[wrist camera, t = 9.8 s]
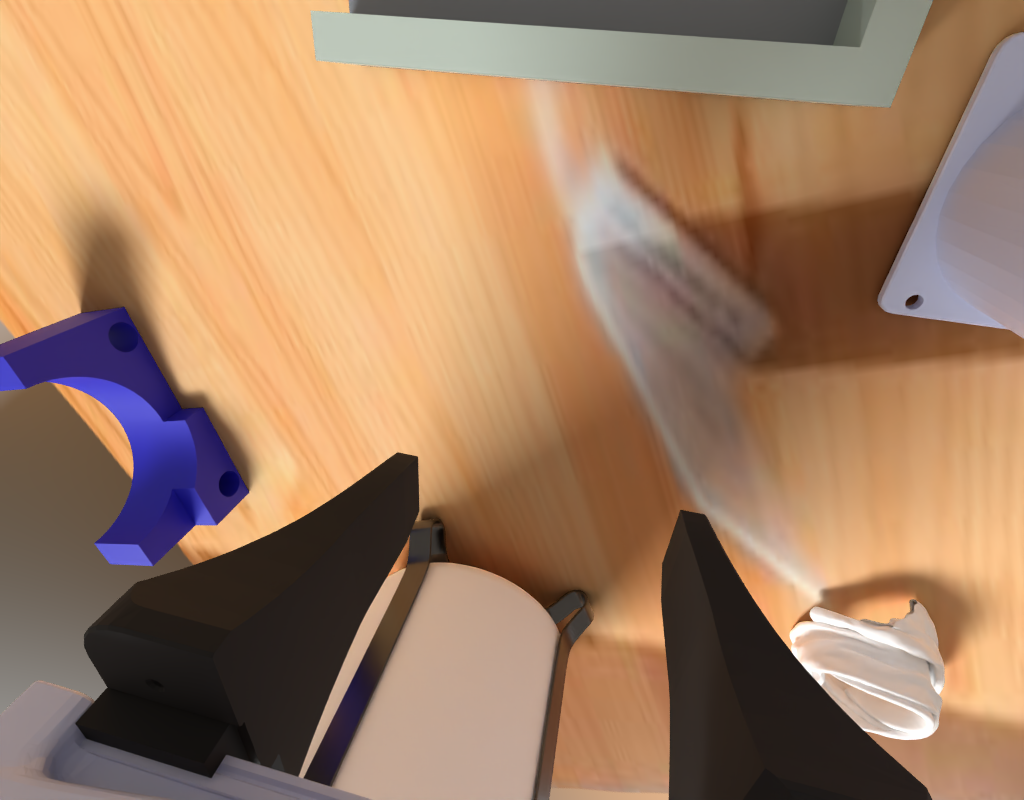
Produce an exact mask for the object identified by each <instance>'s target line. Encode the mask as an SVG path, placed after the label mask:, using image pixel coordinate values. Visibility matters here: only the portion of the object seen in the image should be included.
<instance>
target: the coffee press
mask: <svg viewBox="0 0 1024 800" xmlns="http://www.w3.org/2000/svg"><path fill="white" fill-rule="evenodd" d="M577 608H581V609H580V610H579V611H578V612H577V613H576V614H575V615H574V616H573V618H572V619H571V620H570V621H569V622H568V624H567V625H566V626H565V628H564V629H563V631H562V633H561V635H560V632H559V630H558V628H557V626H556V624H557V623H559V622H560V621H561V620H563V619H564V618H565V617H566V616H568V615H569V614H570V613H571V612H572V611H574V610H575V609H577ZM593 618H594V614H593V611H592V608H591V606H590V603H589V601H588V598H587V596H586V594H585V593H584V592H582V591H580V590H573V591H570V592H568V593H566V594H565V595H564V596H562V597H561V598H560V599H559V600H558V601H556V602H555V603H554V604H552V605H551V606H549V607H547V608H543V607H542V606H541V604H540V603H539V602H537V601H536V600H535V599H534V598H533V597H532V596H531V595H530V594H528V593H527V592H526V591H524V590H523V589H521V588H520V587H519V586H517V585H515V584H514V583H512V582H510V581H508V580H507V579H505V578H503V577H500V576H498V575H496V574H494V573H491V572H488V571H486V570H483V569H479V568H476V567H472V566H468V565H462V564H456V563H450V562H449V560H448V556H447V551H446V538H445V528H444V525H443V523H442V521H441V520H440V519H438V518H436V519H428V520H420V521H415V523H414V525H413V528H412V530H411V533H410V541H409V556H408V563H407V566H406V568H404V569H402V570H399V571H397V572H395V573H394V574H392V575H390V576H389V577H387V578H386V579H385V581H384V583H383V585H382V586H381V588H380V590H379V592H378V593H377V595H376V597H375V599H374V600H373V602H372V604H371V606H370V607H369V609H368V611H367V613H366V615H365V617H364V619H363V621H362V623H361V625H360V627H359V629H358V631H357V633H356V636H355V638H354V640H353V642H352V645H351V647H350V649H349V651H348V654H347V656H346V658H345V661H344V663H343V665H342V668H341V670H340V672H339V675H338V677H337V679H336V682H335V684H334V687H333V689H332V691H331V694H330V696H329V699H328V701H327V704H326V706H325V709H324V711H323V714H322V716H321V719H320V721H319V724H318V726H317V729H316V731H315V734H314V737H313V739H312V742H311V745H310V747H309V750H308V753H307V755H306V758H305V761H304V763H303V766H302V769H301V771H300V774H299V777H300V778H304V779H307V780H310V781H313V782H317V783H320V784H323V785H326V786H330V787H333V788H336V789H339V790H343V791H346V792H349V793H353V794H356V795H359V796H362V797H366V798H369V799H372V800H549V797H550V789H551V782H552V774H553V766H554V759H555V751H556V743H557V736H558V728H559V720H560V713H561V705H562V698H563V690H564V683H565V675H566V668H567V662H568V656H569V652H570V649H571V647H572V646H573V644H574V643H575V641H576V640H577V639H578V637H579V636H580V635H581V634H582V633H583V632H584V630H585V629H586V628H587V627H588V626H589V625H590V624H591V622H592V620H593Z"/></svg>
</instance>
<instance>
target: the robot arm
mask: <svg viewBox="0 0 1024 800" xmlns="http://www.w3.org/2000/svg"><path fill="white" fill-rule="evenodd" d="M913 295H918V300H917V301H916V302H915V303H914V304H912V305H909V306H905V302H906V300H907V299H908V298H909V297H911V296H913ZM877 301H878V304H879V306H880V307H881V308H882V309H883V310H884V311H886V312H888V313H892V314H899V315H906V316H914V317H921V318H928V319H936V320H943V321H950V322H958V323H965V324H972V325H980V326H987V327H994V328H1002V329H1009V330H1011V331H1013V332H1014V333H1016V334H1017V335H1019V336H1020V337H1022V338H1024V32H1020V33H1014V34H1012V35H1010V36H1008V37H1006V38H1004V39H1003V40H1002V41H1001V42H1000V43H999V44H998V45H997V46H996V47H995V49H994V50H993V52H992V53H991V56H990V58H989V60H988V62H987V64H986V66H985V68H984V71H983V73H982V75H981V77H980V79H979V81H978V83H977V86H976V88H975V90H974V92H973V94H972V96H971V98H970V101H969V103H968V105H967V107H966V109H965V111H964V113H963V115H962V118H961V120H960V122H959V124H958V126H957V128H956V130H955V133H954V135H953V137H952V139H951V141H950V143H949V145H948V148H947V150H946V152H945V154H944V156H943V158H942V160H941V163H940V165H939V167H938V169H937V171H936V173H935V175H934V178H933V180H932V182H931V184H930V186H929V188H928V190H927V192H926V195H925V197H924V199H923V201H922V203H921V205H920V207H919V210H918V212H917V214H916V216H915V218H914V220H913V222H912V225H911V227H910V229H909V231H908V233H907V235H906V237H905V240H904V242H903V244H902V246H901V248H900V250H899V252H898V255H897V257H896V259H895V261H894V263H893V265H892V267H891V269H890V272H889V274H888V276H887V278H886V280H885V282H884V284H883V287H882V289H881V291H880V293H879V295H878V300H877ZM418 513H419V478H418V457H417V456H412V455H408V454H403V453H396V454H395V455H393V456H392V457H390V458H389V459H388V460H386V461H385V462H383V463H382V464H381V465H379V466H378V467H377V468H375V469H374V470H373V471H371V472H370V473H368V474H367V475H366V476H364V477H363V478H362V479H360V480H359V481H357V482H356V483H355V484H353V485H352V486H350V487H349V488H347V489H346V490H345V491H343V492H342V493H340V494H339V495H337V496H336V497H334V498H333V499H331V500H330V501H328V502H326V503H325V504H323V505H322V506H320V507H318V508H317V509H315V510H314V511H312V512H311V513H309V514H307V515H305V516H304V517H302V518H300V519H298V520H297V521H295V522H293V523H291V524H289V525H287V526H285V527H283V528H281V529H279V530H278V531H276V532H273V533H271V534H269V535H267V536H265V537H263V538H260V539H258V540H256V541H254V542H251V543H249V544H247V545H245V546H243V547H240V548H238V549H236V550H233V551H231V552H228V553H226V554H223V555H220V556H218V557H215V558H213V559H210V560H207V561H204V562H201V563H199V564H196V565H193V566H190V567H187V568H184V569H181V570H178V571H174V572H171V573H167V574H164V575H161V576H157V577H154V578H151V579H148V580H144V581H140V582H137V583H136V584H134V585H133V586H132V587H131V588H130V589H129V590H128V591H127V592H126V593H125V594H124V595H123V596H122V597H121V598H119V599H118V600H117V601H116V602H115V603H114V604H113V605H112V606H111V607H110V608H109V609H108V610H107V611H106V612H105V613H104V614H103V615H102V616H101V617H100V618H99V619H98V620H97V621H96V622H95V623H93V624H92V626H90V627H89V628H88V630H87V631H86V633H85V634H84V647H85V649H86V652H87V654H88V656H89V658H90V659H91V661H92V663H93V664H94V666H95V667H96V669H97V671H98V672H99V674H100V676H101V677H102V679H103V681H104V682H105V684H106V686H107V687H108V688H107V689H106V690H105V691H104V692H103V693H102V694H101V695H100V696H99V698H98V699H97V700H96V701H94V700H93V699H92V698H90V697H88V696H87V695H85V694H83V693H81V692H78V691H75V690H72V689H68V688H65V687H62V686H58V685H55V684H52V683H48V682H45V681H41V680H40V681H35V682H34V683H33V684H32V685H31V686H30V687H29V688H28V689H27V690H25V692H24V693H22V694H21V695H20V696H19V697H18V698H17V699H16V700H15V701H14V702H13V703H12V704H11V705H10V706H9V707H8V708H7V709H6V710H5V711H4V712H3V713H2V714H1V715H0V800H372V799H369V798H366V797H362V796H359V795H356V794H353V793H349V792H346V791H343V790H339V789H336V788H333V787H330V786H326V785H323V784H320V783H317V782H313V781H310V780H307V779H304V778H300V777H299V774H300V771H301V769H302V766H303V763H304V761H305V758H306V755H307V753H308V750H309V747H310V745H311V742H312V739H313V737H314V734H315V731H316V729H317V726H318V724H319V721H320V719H321V716H322V714H323V711H324V709H325V706H326V704H327V701H328V699H329V696H330V694H331V691H332V689H333V687H334V684H335V682H336V679H337V677H338V675H339V672H340V670H341V668H342V665H343V663H344V661H345V658H346V656H347V654H348V651H349V649H350V647H351V645H352V642H353V640H354V638H355V636H356V633H357V631H358V629H359V627H360V625H361V623H362V621H363V619H364V617H365V615H366V613H367V611H368V609H369V607H370V606H371V604H372V602H373V600H374V599H375V597H376V595H377V593H378V592H379V590H380V588H381V586H382V585H383V583H384V581H385V579H386V578H387V576H388V574H389V572H390V571H391V569H392V567H393V565H394V564H395V562H396V560H397V558H398V556H399V555H400V553H401V551H402V549H403V547H404V546H405V544H406V542H407V540H408V537H409V535H410V533H411V530H412V528H413V525H414V523H415V520H416V518H417V515H418ZM661 603H662V615H663V626H664V637H665V647H666V658H667V668H668V679H669V693H670V769H669V800H932V798H931V796H930V794H929V792H928V790H927V788H926V787H925V786H924V785H923V784H922V783H921V782H920V781H918V780H917V779H916V778H915V777H914V776H913V775H912V774H911V773H909V772H908V771H907V770H906V769H905V768H904V767H903V766H902V765H901V764H899V763H898V762H897V761H896V760H895V759H894V758H893V757H892V756H890V755H889V754H888V753H887V752H886V751H885V750H884V749H883V748H882V747H880V746H879V745H878V744H877V743H876V742H875V741H874V740H873V739H872V738H871V737H870V736H869V735H868V734H867V733H866V732H865V731H864V730H863V729H862V728H861V727H860V726H859V725H858V724H857V723H856V722H855V721H854V720H853V719H852V718H851V717H850V716H849V715H848V714H847V713H846V712H845V711H844V710H843V709H842V708H841V707H840V706H839V705H838V704H837V703H836V702H835V701H834V700H833V699H832V698H831V697H830V696H829V694H828V693H827V692H826V691H825V690H824V689H823V688H822V687H821V686H820V684H819V683H818V682H817V681H816V680H815V679H814V678H813V677H812V676H811V674H810V673H809V672H808V671H807V670H806V669H805V668H804V666H803V665H802V664H801V663H800V662H799V661H798V659H797V658H796V657H795V656H794V655H793V653H792V652H791V651H790V649H789V648H788V647H787V646H786V644H785V643H784V642H783V640H782V639H781V638H780V637H779V635H778V634H777V633H776V631H775V630H774V628H773V627H772V626H771V624H770V623H769V621H768V620H767V619H766V617H765V616H764V614H763V613H762V611H761V610H760V608H759V607H758V605H757V604H756V602H755V601H754V599H753V598H752V596H751V595H750V593H749V592H748V590H747V588H746V587H745V585H744V583H743V582H742V580H741V578H740V577H739V575H738V573H737V572H736V570H735V568H734V567H733V565H732V563H731V562H730V560H729V558H728V556H727V554H726V553H725V551H724V549H723V547H722V545H721V543H720V541H719V540H718V538H717V536H716V534H715V532H714V530H713V528H712V526H711V524H710V522H709V520H708V518H707V517H706V516H705V515H704V514H699V513H694V512H689V511H684V510H680V513H679V516H678V519H677V522H676V525H675V528H674V531H673V534H672V537H671V540H670V543H669V546H668V549H667V551H666V554H665V557H664V560H663V563H662V589H661Z"/></svg>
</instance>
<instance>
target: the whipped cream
mask: <svg viewBox="0 0 1024 800" xmlns="http://www.w3.org/2000/svg"><path fill="white" fill-rule="evenodd" d="M909 603H910V612H909V613H907V614H906V616H905V618H904V619H896V618H892V619H890V622H889V623H888V624H884V623H879V622H875V621H871V620H867V619H862V620H856V619H854V618H850V617H847V616H844V615H842V614H839V613H836V612H833V611H830V610H827V609H824V608H821V607H814V608H813V609H811V611H810V616H811V618H812V620H813V621H814V622H812V621H803V622H800V623H798V624H796V625H795V627H794V628H793V629H792V630H791V631H790V639H791V641H792V646H791V650H792V653H793V655H794V656H795V657H796V658H797V659H798V661H799V662H800V663H801V664H802V665H803V666H804V668H805V669H806V670H807V671H808V672H809V673H810V674H811V676H812V677H813V678H814V679H815V680H816V681H817V682H818V683H819V684H820V686H821V687H822V688H823V689H824V690H825V691H826V692H827V693H828V694H829V696H830V697H831V698H832V699H833V700H834V701H835V702H836V703H837V704H838V705H839V706H840V707H841V708H842V709H843V710H844V711H845V712H846V713H847V714H848V715H849V716H850V717H851V718H852V719H853V720H854V721H855V722H856V723H857V724H858V725H859V726H860V727H861V728H862V729H863V730H864V731H868V732H873V733H876V734H879V735H882V736H886V737H890V738H895V739H903V740H910V739H922V738H926V737H928V736H930V735H931V734H933V733H934V732H935V731H936V729H937V728H938V726H939V715H940V710H941V706H942V698H941V697H940V696H939V693H940V692H941V691H942V689H943V687H944V683H945V678H944V663H943V660H942V657H941V654H940V652H939V650H938V637H937V633H936V629H935V625H934V623H933V621H932V620H931V618H930V616H929V614H928V612H927V610H926V609H925V607H924V606H923V605H922V604H921V603H919V602H918V601H916V600H914V599H911V600H910V602H909Z"/></svg>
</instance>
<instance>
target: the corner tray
mask: <svg viewBox="0 0 1024 800" xmlns="http://www.w3.org/2000/svg"><path fill="white" fill-rule="evenodd" d="M932 2H933V0H349V9H350V13H338V12H323V11H311V18H312V28H313V37H314V46H315V56H316V60H317V61H326V62H335V63H344V64H353V65H362V66H374V67H386V68H399V69H411V70H423V71H435V72H447V73H459V74H471V75H483V76H495V77H508V78H520V79H532V80H544V81H556V82H568V83H580V84H592V85H604V86H617V87H629V88H641V89H653V90H665V91H677V92H689V93H701V94H713V95H725V96H738V97H750V98H762V99H774V100H786V101H798V102H810V103H822V104H834V105H847V106H866V107H889V108H890V107H891V105H892V102H893V100H894V97H895V95H896V92H897V90H898V87H899V85H900V82H901V80H902V77H903V75H904V72H905V70H906V67H907V65H908V62H909V60H910V57H911V55H912V52H913V50H914V47H915V45H916V42H917V40H918V37H919V35H920V32H921V30H922V27H923V25H924V22H925V20H926V17H927V15H928V12H929V10H930V7H931V5H932Z"/></svg>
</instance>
